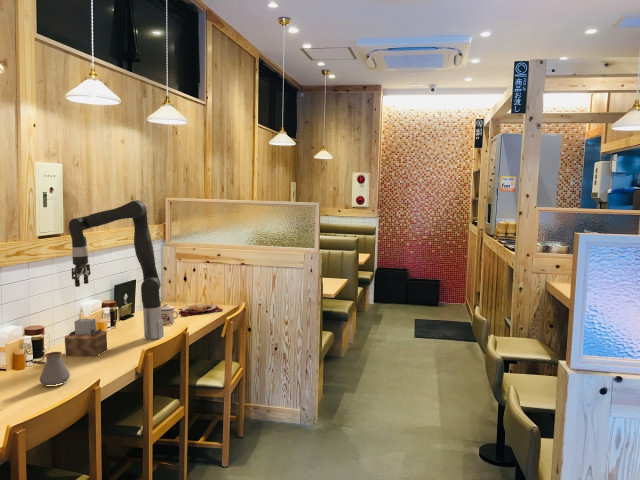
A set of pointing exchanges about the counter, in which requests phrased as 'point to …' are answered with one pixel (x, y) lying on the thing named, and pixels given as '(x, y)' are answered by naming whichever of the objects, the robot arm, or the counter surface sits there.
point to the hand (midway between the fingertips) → (82, 285)
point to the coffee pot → (53, 369)
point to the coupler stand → (86, 344)
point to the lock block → (85, 326)
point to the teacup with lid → (168, 314)
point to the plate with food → (199, 309)
